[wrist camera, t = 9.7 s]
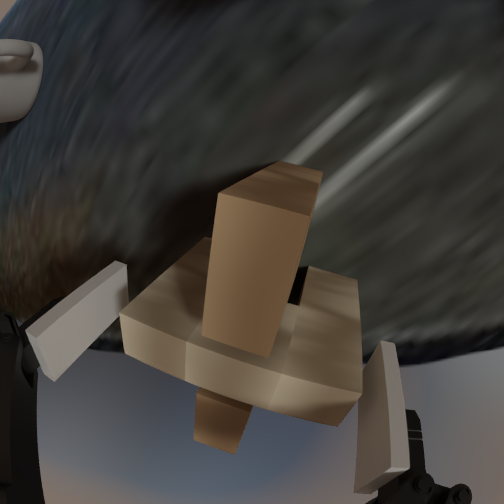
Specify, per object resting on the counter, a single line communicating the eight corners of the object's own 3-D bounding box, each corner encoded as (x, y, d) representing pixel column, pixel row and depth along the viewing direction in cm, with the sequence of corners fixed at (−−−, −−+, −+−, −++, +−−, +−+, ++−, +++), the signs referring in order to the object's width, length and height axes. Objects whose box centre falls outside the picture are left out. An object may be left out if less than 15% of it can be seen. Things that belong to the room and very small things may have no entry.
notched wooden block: (239, 346, 22) (193, 439, 14) (279, 160, 16) (218, 193, 8) (270, 355, 21) (234, 454, 13) (322, 171, 15) (309, 216, 7)
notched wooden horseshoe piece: (201, 269, 20) (125, 353, 12) (205, 236, 19) (119, 312, 11) (343, 311, 18) (337, 426, 10) (356, 279, 17) (362, 393, 9)
